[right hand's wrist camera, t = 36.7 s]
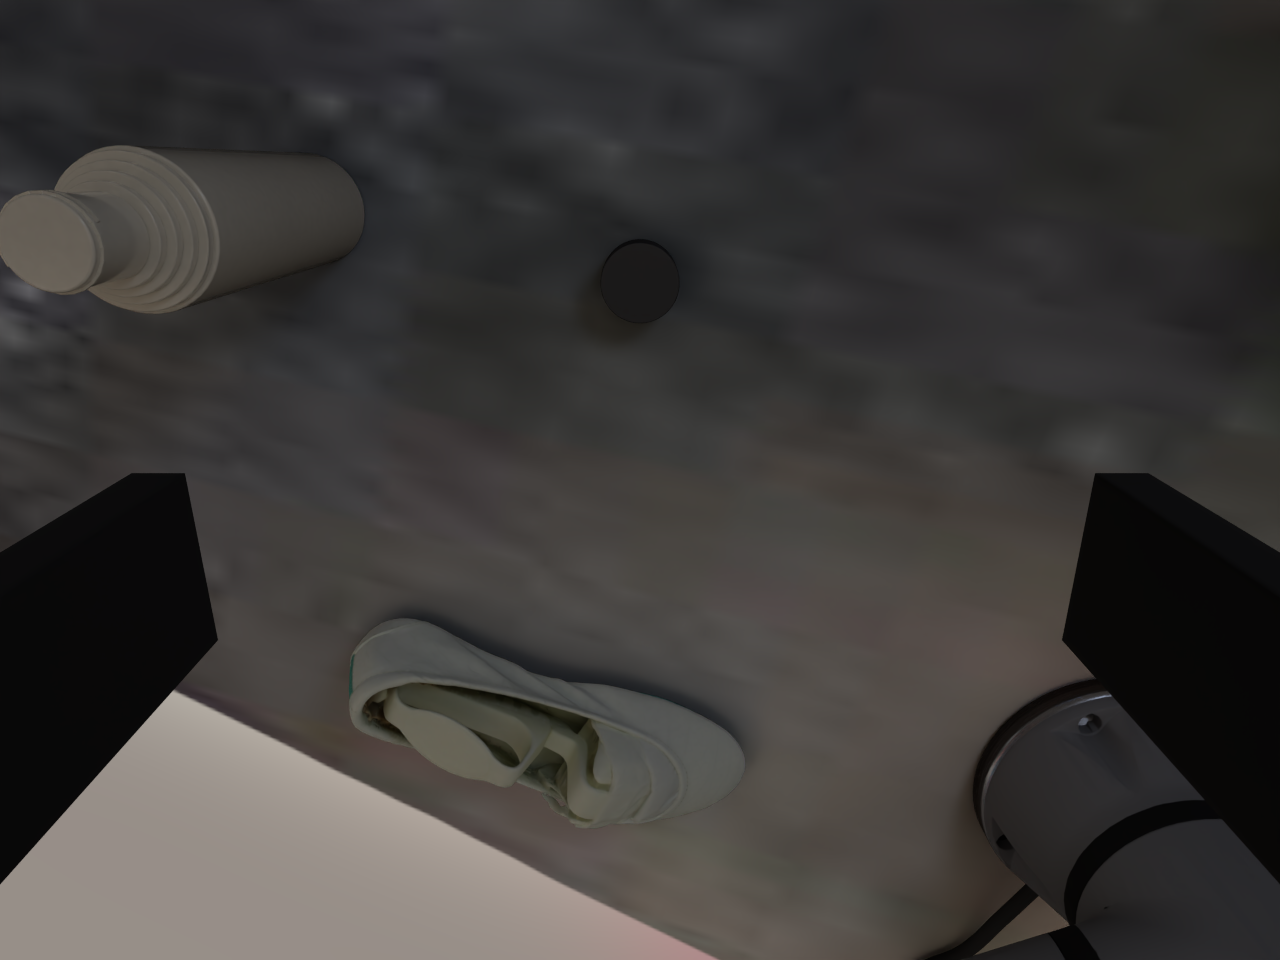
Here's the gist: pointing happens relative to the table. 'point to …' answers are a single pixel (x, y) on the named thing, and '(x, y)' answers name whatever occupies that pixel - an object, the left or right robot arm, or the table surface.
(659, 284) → the cap
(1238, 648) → the right robot arm
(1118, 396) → the table surface
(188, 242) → the ridged cream cylinder
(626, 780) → the ballet flat
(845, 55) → the table surface
